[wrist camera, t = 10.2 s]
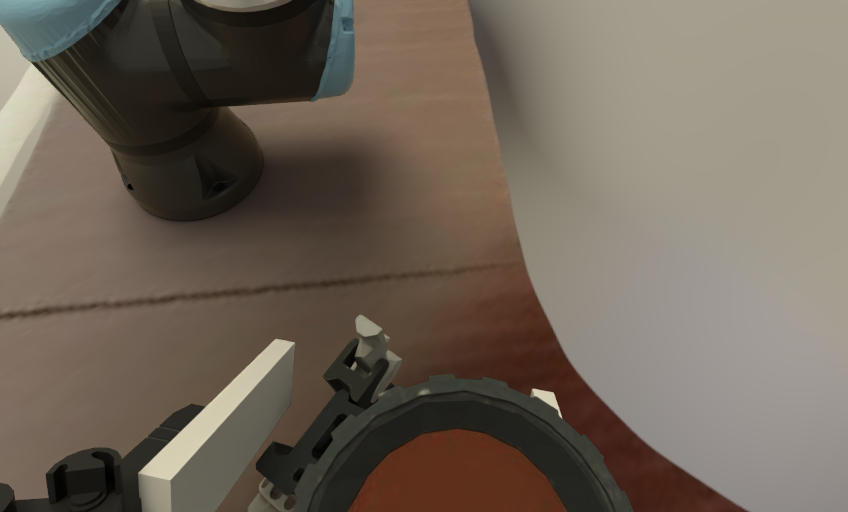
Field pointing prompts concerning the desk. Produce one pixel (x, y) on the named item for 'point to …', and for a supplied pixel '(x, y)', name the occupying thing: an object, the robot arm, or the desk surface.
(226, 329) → the desk surface
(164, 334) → the desk surface
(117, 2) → the robot arm
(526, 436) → the scope
